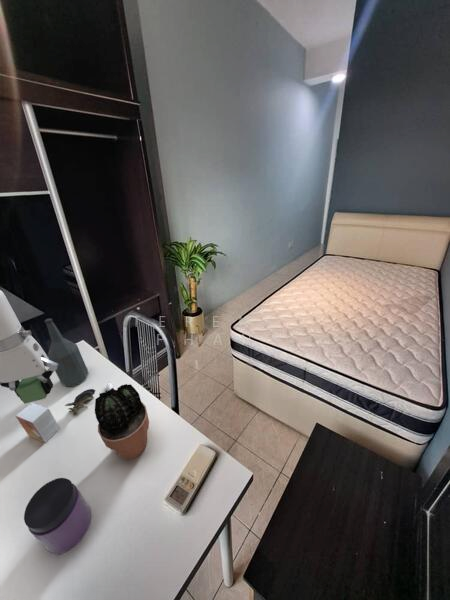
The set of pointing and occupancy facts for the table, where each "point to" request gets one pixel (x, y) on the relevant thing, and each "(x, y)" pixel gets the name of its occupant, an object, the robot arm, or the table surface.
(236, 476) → the table surface
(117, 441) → the potted plant
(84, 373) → the bottle
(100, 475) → the table surface
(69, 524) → the jar
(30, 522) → the jar lid
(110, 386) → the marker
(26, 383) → the block
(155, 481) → the table surface
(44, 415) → the small box
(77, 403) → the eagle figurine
